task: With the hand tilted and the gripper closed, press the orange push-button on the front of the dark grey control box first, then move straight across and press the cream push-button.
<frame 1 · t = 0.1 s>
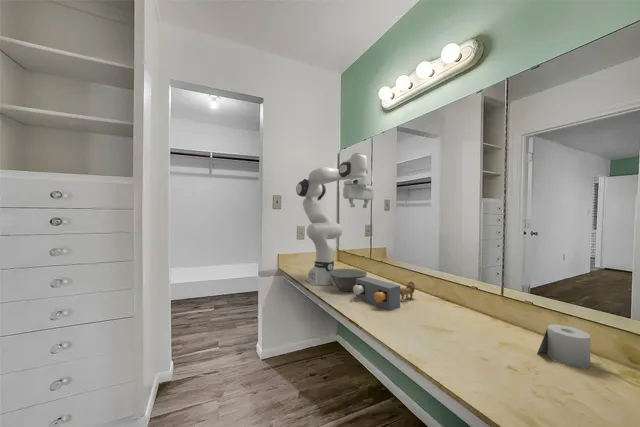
hand: (358, 207, 138), 48 cm above the vanity counter, tool pointing down, fingers open, 8 cm apart
button orange: (380, 296, 118), point 6 cm above the vanity counter, slide at 0.0 cm
ceramic bowl: (347, 289, 148), on the vanity counter
lion figurine: (405, 300, 130), on the vanity counter
control box: (376, 301, 126), on the vanity counter
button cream: (359, 289, 129), point 6 cm above the vanity counter, slide at 0.0 cm
toilet tissue: (562, 358, 77), on the vanity counter
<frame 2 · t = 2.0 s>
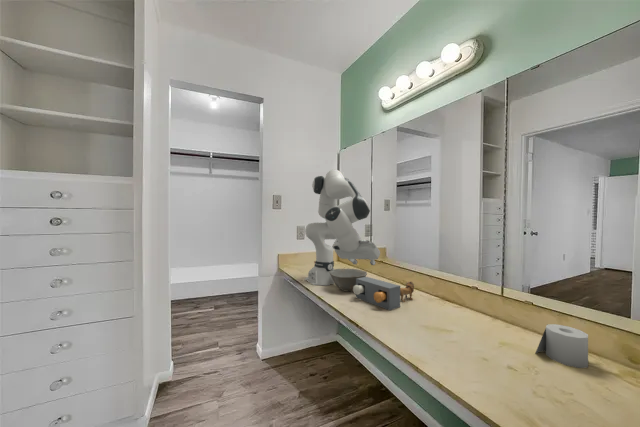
hand: (364, 263, 111), 22 cm above the vanity counter, tool tilted 40°, fingers open, 8 cm apart
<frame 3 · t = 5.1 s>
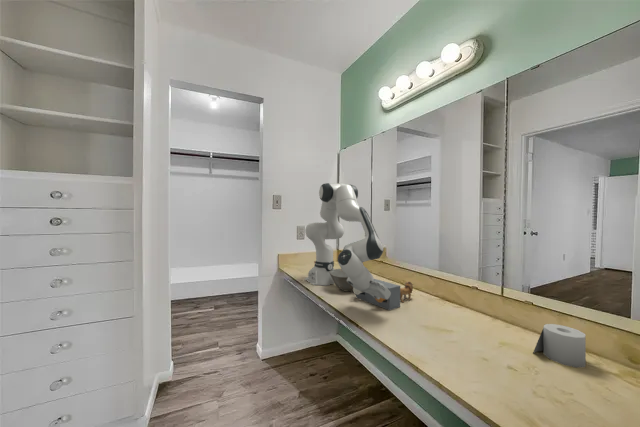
hand: (377, 297, 116), 5 cm above the vanity counter, tool tilted 45°, fingers closed, pressing on button orange
button orange: (381, 296, 118), point 6 cm above the vanity counter, slide at 0.7 cm, touching gripper
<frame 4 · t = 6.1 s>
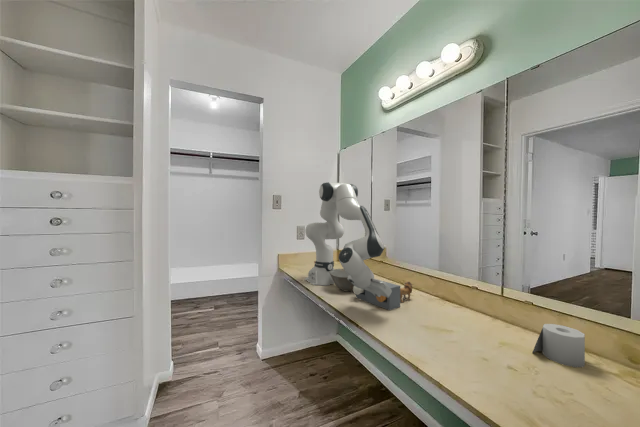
hand: (378, 295, 117), 6 cm above the vanity counter, tool tilted 45°, fingers closed
button orange: (383, 295, 119), point 5 cm above the vanity counter, slide at 1.6 cm
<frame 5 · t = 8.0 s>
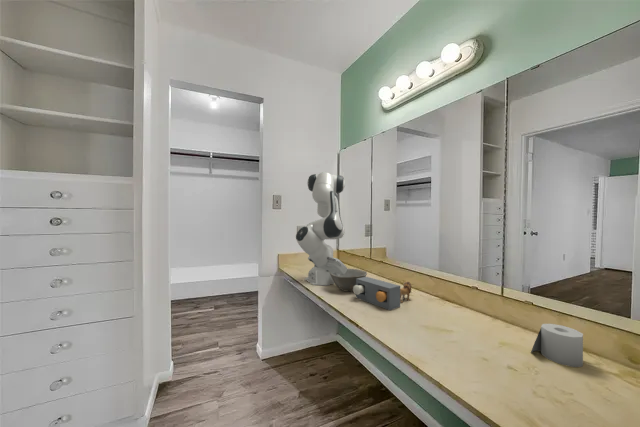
hand: (337, 274, 120), 15 cm above the vanity counter, tool tilted 45°, fingers closed
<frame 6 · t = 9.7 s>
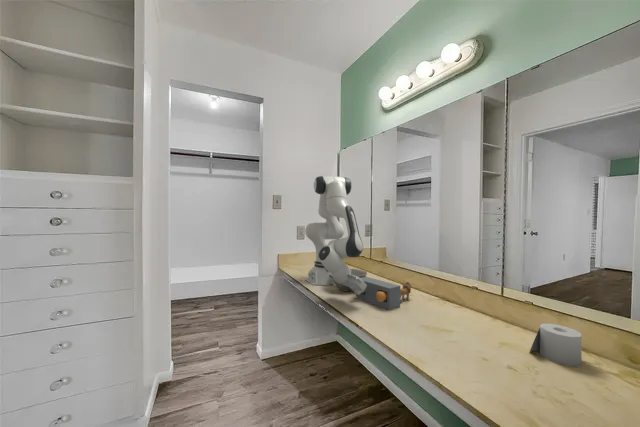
hand: (356, 290, 128), 6 cm above the vanity counter, tool tilted 45°, fingers closed, pressing on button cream
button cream: (360, 289, 129), point 5 cm above the vanity counter, slide at 0.7 cm, touching gripper
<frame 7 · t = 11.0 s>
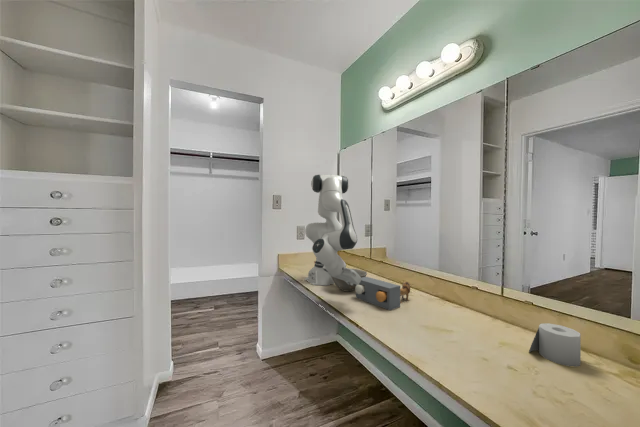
hand: (351, 283, 125), 9 cm above the vanity counter, tool tilted 45°, fingers closed
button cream: (361, 288, 130), point 5 cm above the vanity counter, slide at 1.6 cm
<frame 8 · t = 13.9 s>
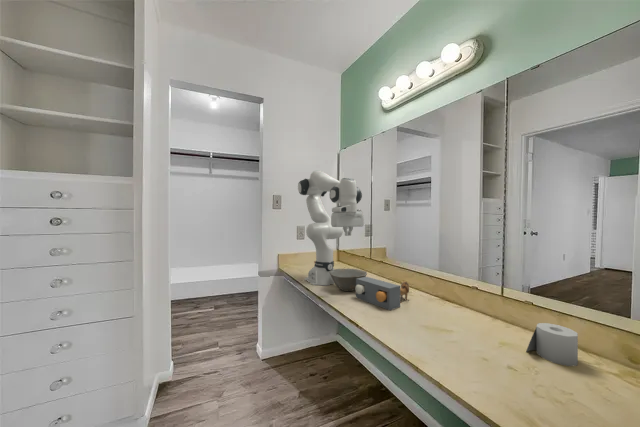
hand: (348, 235, 130), 33 cm above the vanity counter, tool pointing down, fingers closed
at the end: button orange slide at 1.6 cm; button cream slide at 1.6 cm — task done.
